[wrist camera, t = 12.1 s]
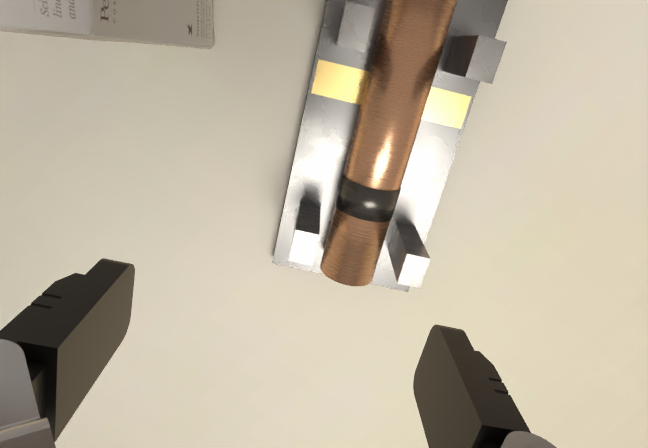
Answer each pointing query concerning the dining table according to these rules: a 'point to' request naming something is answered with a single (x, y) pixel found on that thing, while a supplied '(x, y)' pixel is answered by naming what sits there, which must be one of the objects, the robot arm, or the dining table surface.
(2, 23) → the skincare box
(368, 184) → the copper tube
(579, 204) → the dining table surface
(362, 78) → the tube holder
